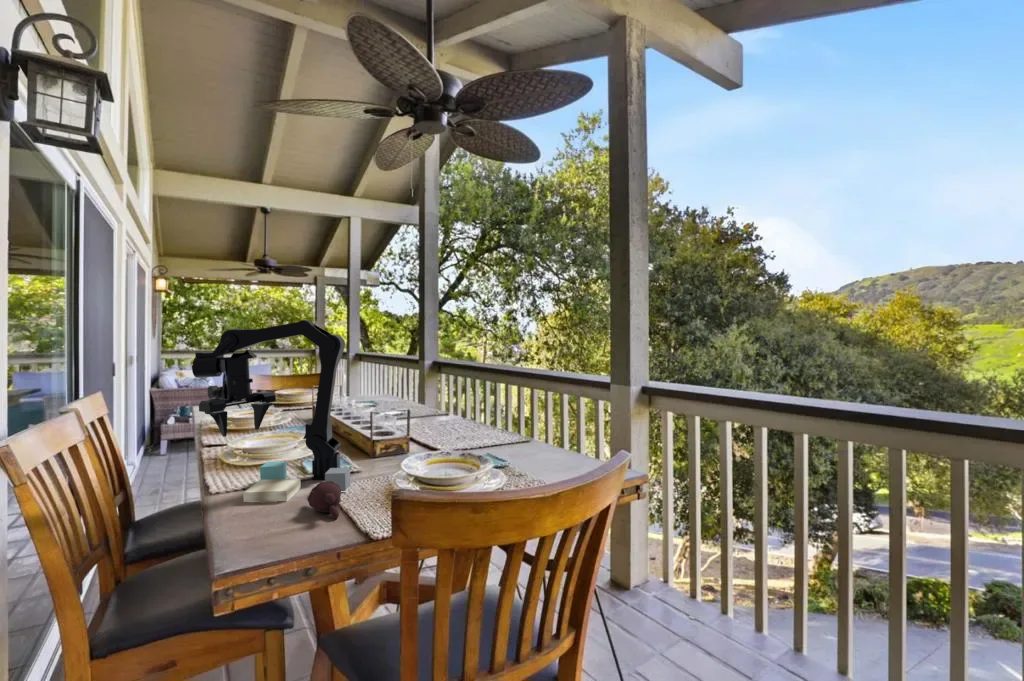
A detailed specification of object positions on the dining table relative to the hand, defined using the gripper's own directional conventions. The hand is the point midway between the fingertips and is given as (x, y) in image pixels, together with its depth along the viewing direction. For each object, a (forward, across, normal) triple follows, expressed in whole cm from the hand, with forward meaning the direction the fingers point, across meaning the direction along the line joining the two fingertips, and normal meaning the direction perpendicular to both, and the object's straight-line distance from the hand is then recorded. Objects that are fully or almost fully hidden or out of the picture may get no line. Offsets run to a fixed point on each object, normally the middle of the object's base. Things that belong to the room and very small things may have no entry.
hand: (241, 432), depth 141 cm
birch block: (+14, +4, +18) cm, 23 cm away
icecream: (+14, +5, +38) cm, 41 cm away
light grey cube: (+14, -7, +29) cm, 33 cm away
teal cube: (+13, -3, +9) cm, 16 cm away
